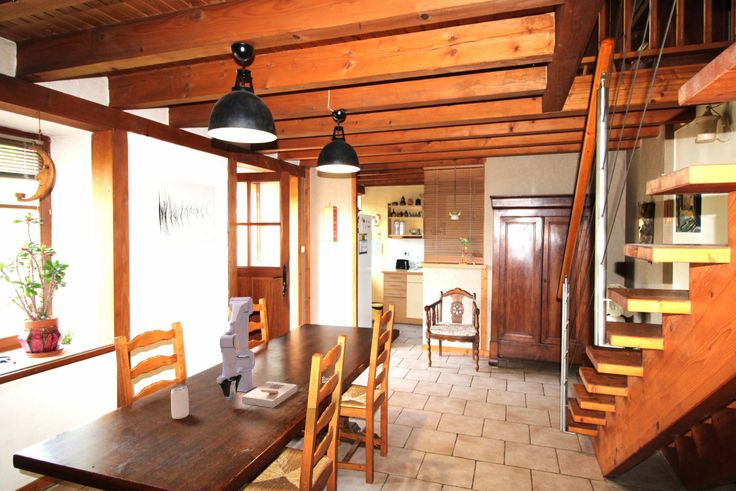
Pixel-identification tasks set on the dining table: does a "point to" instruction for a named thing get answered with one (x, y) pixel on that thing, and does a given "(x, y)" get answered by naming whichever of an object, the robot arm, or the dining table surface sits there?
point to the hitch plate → (269, 394)
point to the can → (179, 402)
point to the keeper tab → (269, 391)
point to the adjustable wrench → (324, 379)
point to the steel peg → (232, 390)
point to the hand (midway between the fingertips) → (230, 394)
